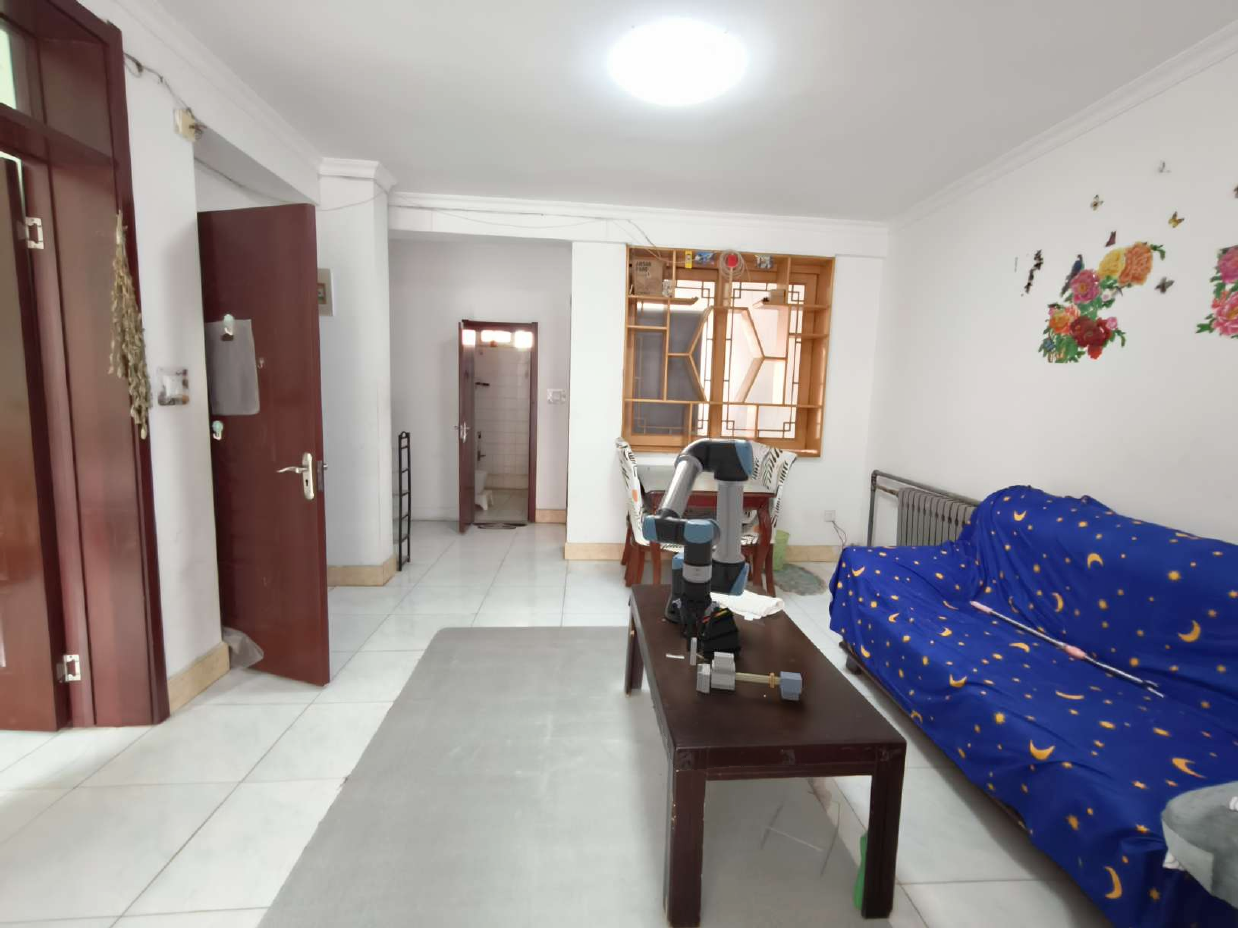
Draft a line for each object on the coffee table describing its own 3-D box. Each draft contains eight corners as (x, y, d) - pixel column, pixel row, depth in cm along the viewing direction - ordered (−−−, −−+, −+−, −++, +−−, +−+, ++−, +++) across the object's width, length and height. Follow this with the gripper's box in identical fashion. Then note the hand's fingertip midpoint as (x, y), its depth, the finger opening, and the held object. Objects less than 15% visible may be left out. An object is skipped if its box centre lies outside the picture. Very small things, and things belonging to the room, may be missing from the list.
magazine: (750, 653, 163) (731, 610, 161) (710, 671, 163) (691, 628, 161) (747, 648, 167) (728, 605, 165) (708, 665, 167) (689, 623, 165)
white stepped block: (711, 677, 149) (712, 649, 148) (733, 680, 148) (735, 651, 147) (711, 687, 144) (712, 657, 143) (734, 690, 143) (735, 660, 142)
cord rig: (697, 680, 150) (698, 660, 149) (798, 691, 145) (799, 671, 145) (696, 691, 144) (697, 670, 144) (801, 703, 140) (802, 682, 139)
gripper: (671, 580, 142) (667, 666, 144) (721, 585, 139) (717, 672, 142) (673, 572, 149) (670, 653, 152) (721, 576, 147) (717, 659, 149)
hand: (693, 662), depth 147 cm, fingers closed
